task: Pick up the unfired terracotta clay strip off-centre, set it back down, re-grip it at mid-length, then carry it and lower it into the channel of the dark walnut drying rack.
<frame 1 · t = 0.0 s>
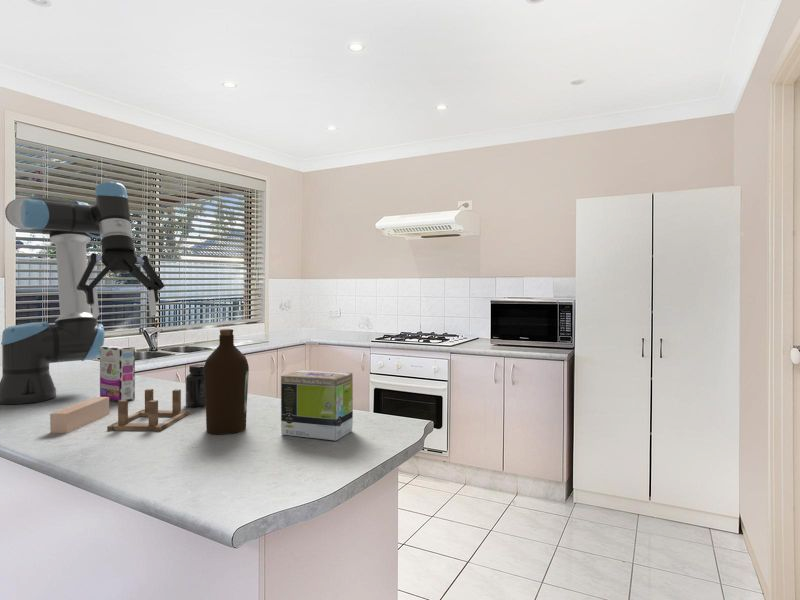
hand: (125, 315, 131), 28 cm above the countertop, tool tilted 20°, fingers open, 13 cm apart
rack: (151, 421, 133), on the countertop
supplement bottle: (197, 406, 151), on the countertop
tea box: (317, 433, 125), on the countertop
candy bar box: (117, 399, 159), on the countertop
olive oil: (226, 430, 127), on the countertop
clay strip: (81, 423, 131), on the countertop
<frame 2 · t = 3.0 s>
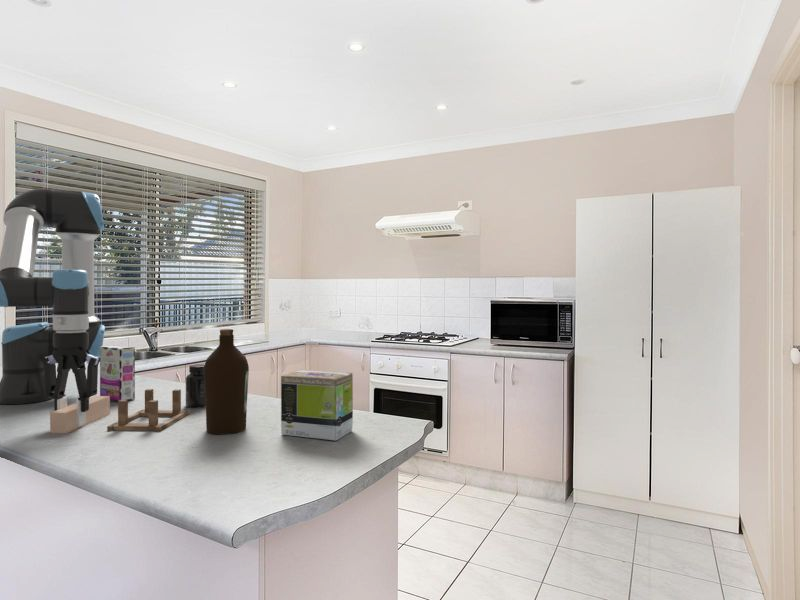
hand: (71, 424, 127), 1 cm above the countertop, tool pointing down, fingers closed on clay strip, 4 cm apart
clay strip: (82, 422, 131), on the countertop, touching gripper
everything else where it was.
when the fingers open (1 cm above the countertop, at t = 4.9 s): clay strip stays where it is, on the countertop.
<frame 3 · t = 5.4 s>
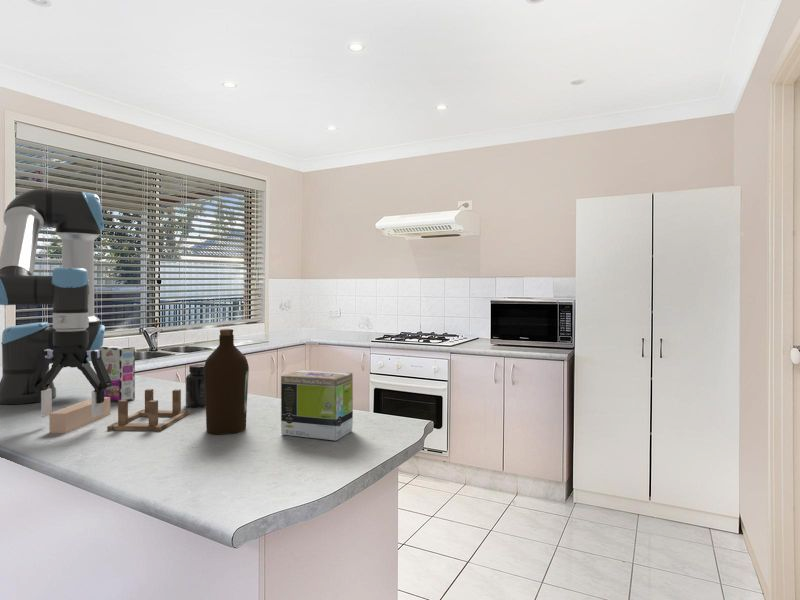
hand: (71, 415, 127), 3 cm above the countertop, tool pointing down, fingers open, 12 cm apart
clay strip: (82, 423, 132), on the countertop
everything else where it was.
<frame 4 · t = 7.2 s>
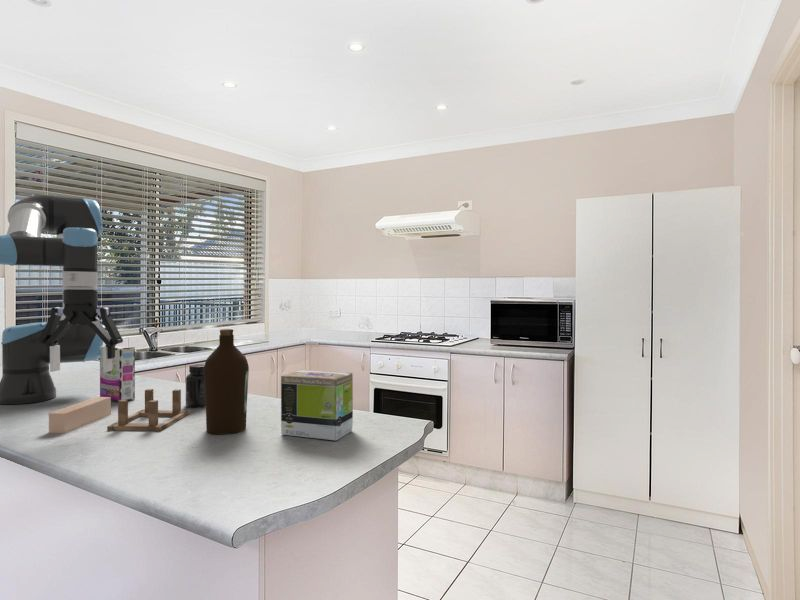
hand: (81, 371, 131), 13 cm above the countertop, tool pointing down, fingers open, 13 cm apart
nothing on the countertop moved.
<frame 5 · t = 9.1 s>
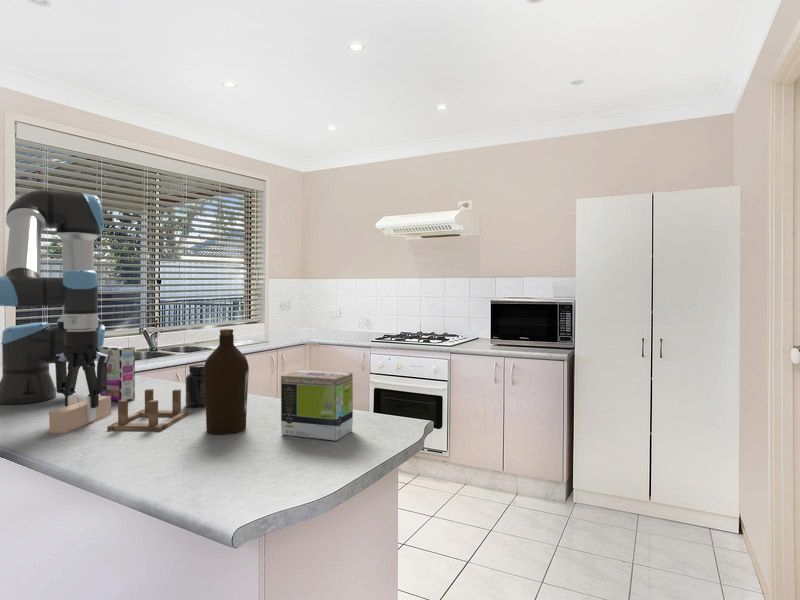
hand: (82, 420, 131), 1 cm above the countertop, tool pointing down, fingers closed on clay strip, 4 cm apart
clay strip: (82, 422, 131), on the countertop, touching gripper
everything else where it was.
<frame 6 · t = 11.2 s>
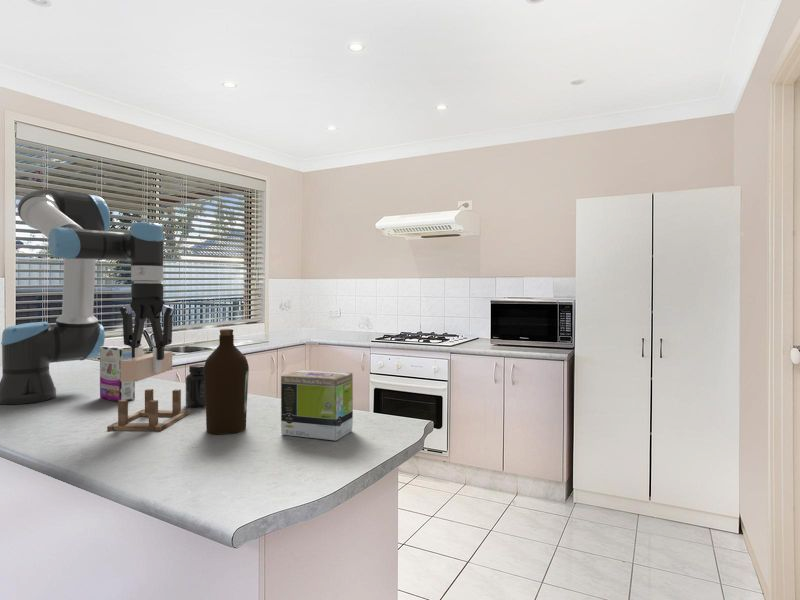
hand: (148, 372, 133), 13 cm above the countertop, tool pointing down, fingers closed on clay strip, 4 cm apart
clay strip: (148, 375, 133), point 12 cm above the countertop, touching gripper
everything else where it was.
when the fingers open (3 cm above the countertop, at t = 13.3 s): clay strip drops 1 cm, resting on rack.
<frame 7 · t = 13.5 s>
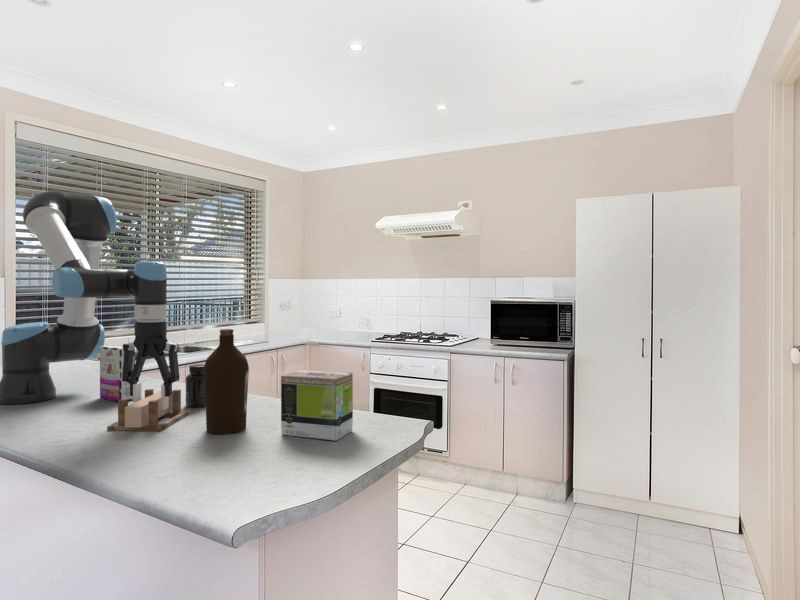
hand: (151, 408, 133), 3 cm above the countertop, tool pointing down, fingers open, 7 cm apart
clay strip: (151, 417, 133), point 1 cm above the countertop, touching rack
everything else where it was.
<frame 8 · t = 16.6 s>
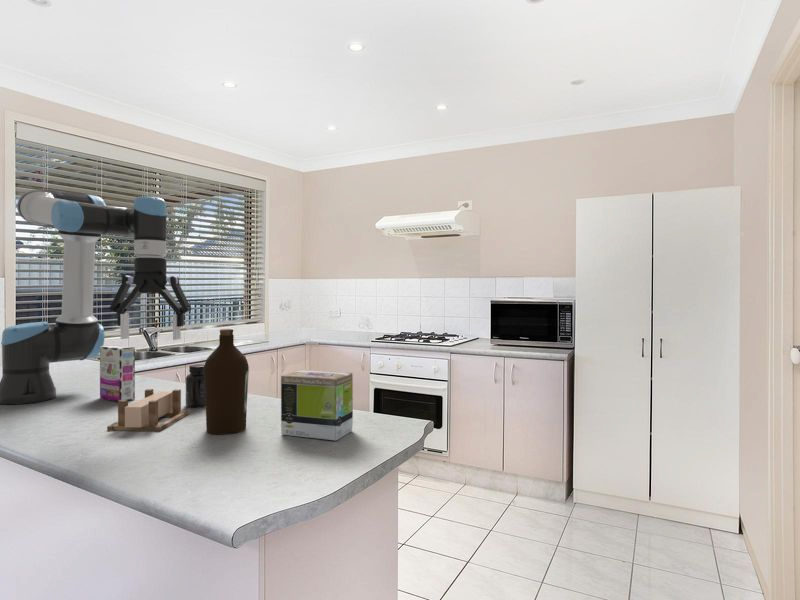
hand: (150, 339, 133), 22 cm above the countertop, tool pointing down, fingers open, 13 cm apart
nothing on the countertop moved.
at the end: clay strip 0.0 cm off-centre on the rack, point 1.0 cm above the rack's base; clay strip tilted 0°; the gripper is holding nothing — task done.
